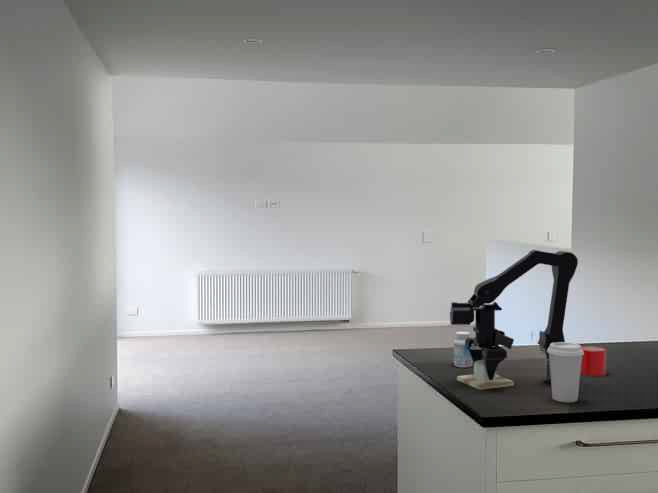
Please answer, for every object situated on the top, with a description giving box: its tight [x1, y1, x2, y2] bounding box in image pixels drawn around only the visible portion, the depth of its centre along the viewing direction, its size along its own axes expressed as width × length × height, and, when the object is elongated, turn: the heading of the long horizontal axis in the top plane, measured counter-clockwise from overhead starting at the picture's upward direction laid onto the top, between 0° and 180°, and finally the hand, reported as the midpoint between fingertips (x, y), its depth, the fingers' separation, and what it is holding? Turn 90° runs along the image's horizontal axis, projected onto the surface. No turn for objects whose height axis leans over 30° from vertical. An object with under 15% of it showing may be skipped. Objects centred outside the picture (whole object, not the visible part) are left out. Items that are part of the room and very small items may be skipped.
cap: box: [473, 360, 497, 381], centre depth 196 cm, size 6×6×5 cm
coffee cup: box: [547, 341, 584, 403], centre depth 178 cm, size 10×10×15 cm
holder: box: [456, 373, 515, 391], centre depth 196 cm, size 12×12×3 cm
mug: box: [580, 345, 607, 377], centre depth 208 cm, size 8×12×8 cm, turn 49°
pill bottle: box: [453, 331, 473, 368], centre depth 217 cm, size 6×6×11 cm
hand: (484, 376), depth 196 cm, fingers open, 9 cm apart
